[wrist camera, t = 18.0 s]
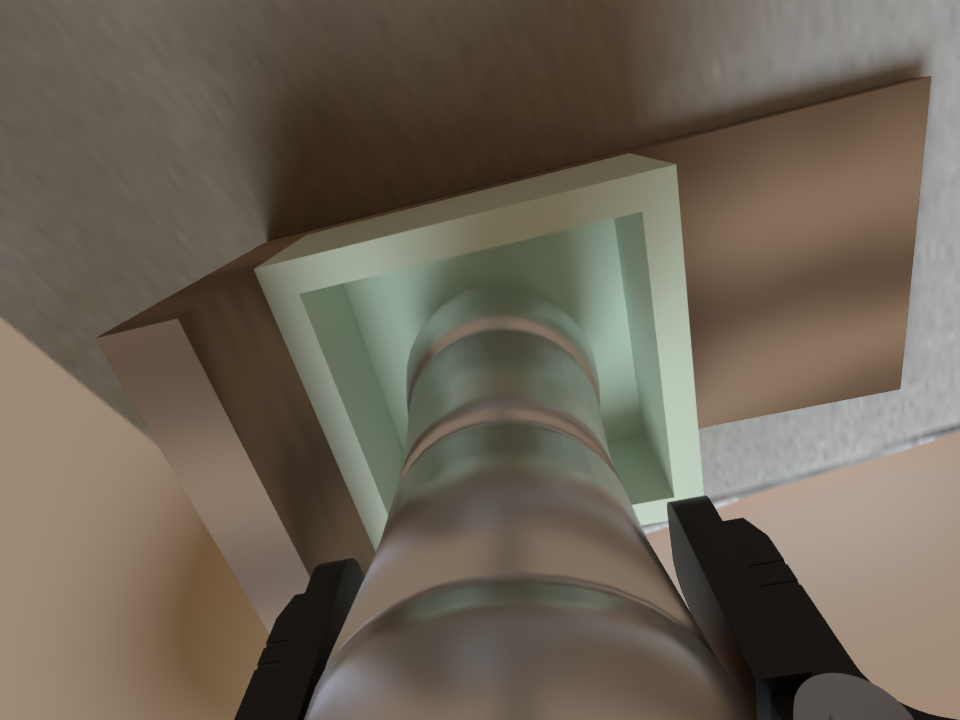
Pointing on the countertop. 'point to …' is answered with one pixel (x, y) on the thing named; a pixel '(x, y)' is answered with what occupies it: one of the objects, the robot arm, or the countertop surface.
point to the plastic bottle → (514, 547)
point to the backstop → (711, 305)
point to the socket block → (507, 260)
